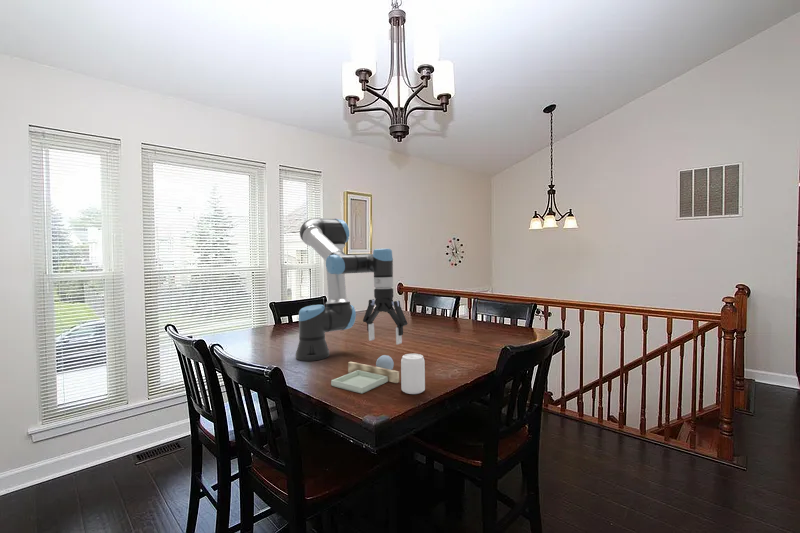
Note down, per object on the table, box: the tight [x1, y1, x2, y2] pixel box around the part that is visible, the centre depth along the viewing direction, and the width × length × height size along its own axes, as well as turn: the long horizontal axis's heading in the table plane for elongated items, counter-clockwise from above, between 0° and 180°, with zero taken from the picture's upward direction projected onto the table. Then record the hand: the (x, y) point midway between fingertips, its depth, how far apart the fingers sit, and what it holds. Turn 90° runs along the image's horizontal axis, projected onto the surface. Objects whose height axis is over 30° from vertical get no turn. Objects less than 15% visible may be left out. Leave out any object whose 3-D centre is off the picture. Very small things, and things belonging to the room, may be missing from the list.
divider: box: [347, 360, 400, 384], centre depth 148 cm, size 24×2×4 cm, turn 55°
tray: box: [330, 370, 389, 395], centre depth 141 cm, size 14×14×2 cm
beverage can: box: [400, 353, 426, 395], centre depth 133 cm, size 8×8×12 cm
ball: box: [375, 354, 395, 370], centre depth 153 cm, size 7×7×7 cm
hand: (385, 341), depth 152 cm, fingers open, 13 cm apart
